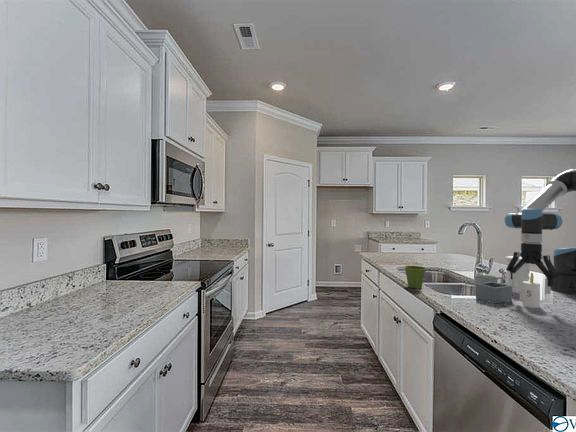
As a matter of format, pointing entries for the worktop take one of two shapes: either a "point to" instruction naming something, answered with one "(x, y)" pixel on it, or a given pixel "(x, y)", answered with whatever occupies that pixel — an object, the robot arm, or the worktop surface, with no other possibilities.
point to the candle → (531, 293)
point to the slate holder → (494, 292)
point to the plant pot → (415, 276)
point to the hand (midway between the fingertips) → (530, 290)
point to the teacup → (487, 279)
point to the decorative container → (522, 274)
